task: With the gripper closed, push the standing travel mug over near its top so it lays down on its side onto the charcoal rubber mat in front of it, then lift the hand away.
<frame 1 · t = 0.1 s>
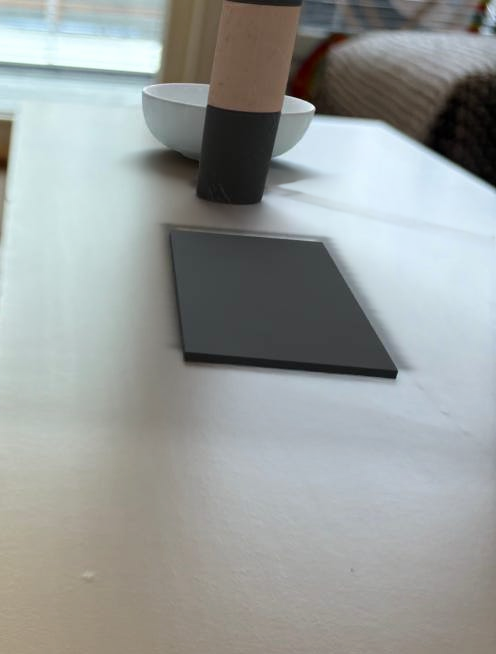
mat: (263, 295, 77), on the table
serving bowl: (218, 159, 122), on the table
travel mug: (228, 198, 105), on the table
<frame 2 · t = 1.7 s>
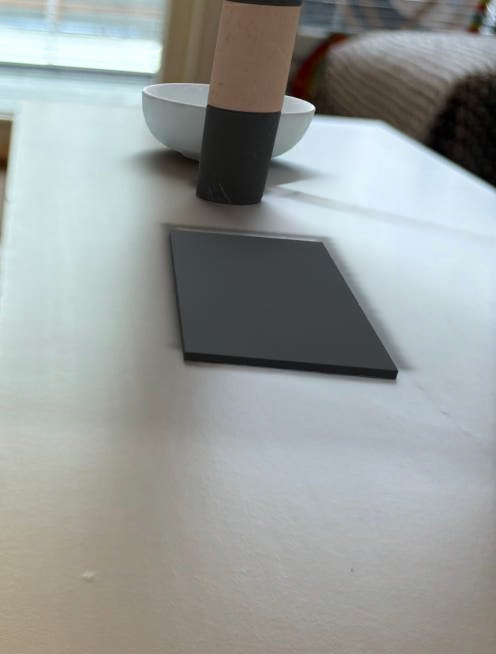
nothing on the table moved.
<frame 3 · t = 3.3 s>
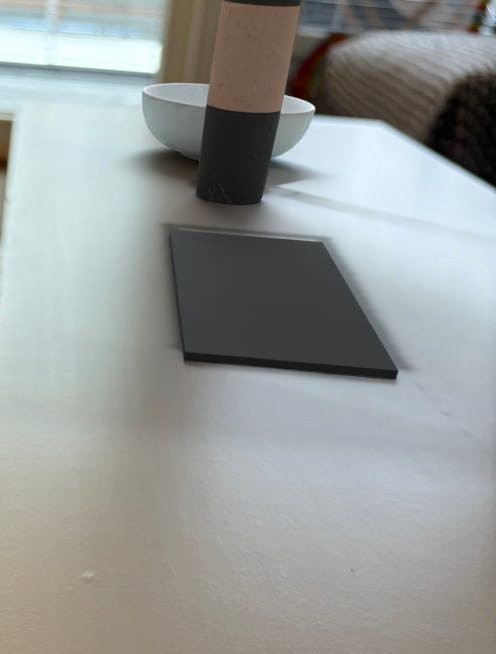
travel mug: (228, 198, 105), on the table, touching gripper
everything else where it was.
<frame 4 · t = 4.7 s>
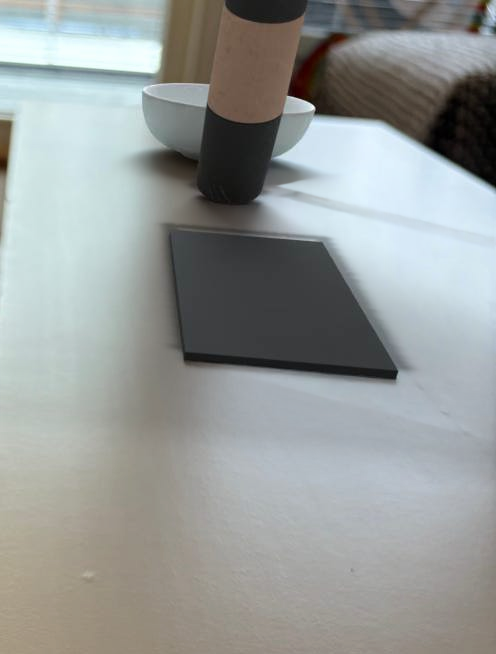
travel mug: (228, 187, 104), point 1 cm above the table, touching gripper
everything else where it was.
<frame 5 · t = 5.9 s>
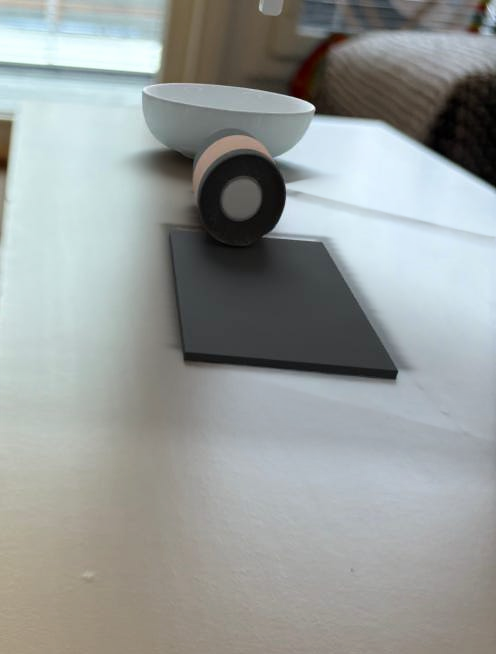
hand: (269, 14, 90), 17 cm above the table, tool pointing down, fingers closed
travel mug: (227, 166, 100), point 4 cm above the table, touching mat
everything else where it was.
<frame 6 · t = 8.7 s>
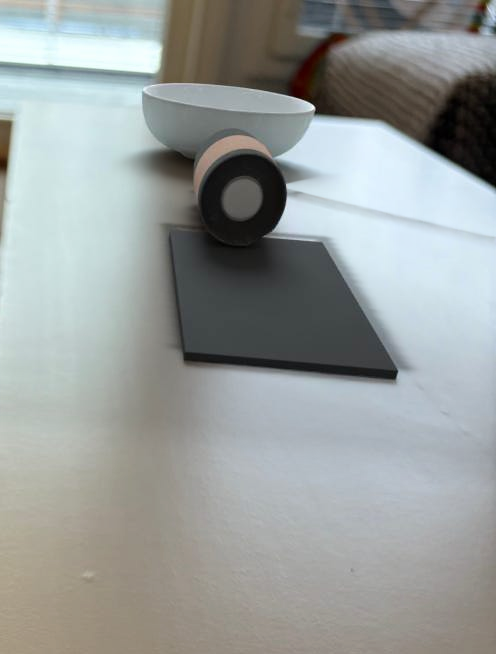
nothing on the table moved.
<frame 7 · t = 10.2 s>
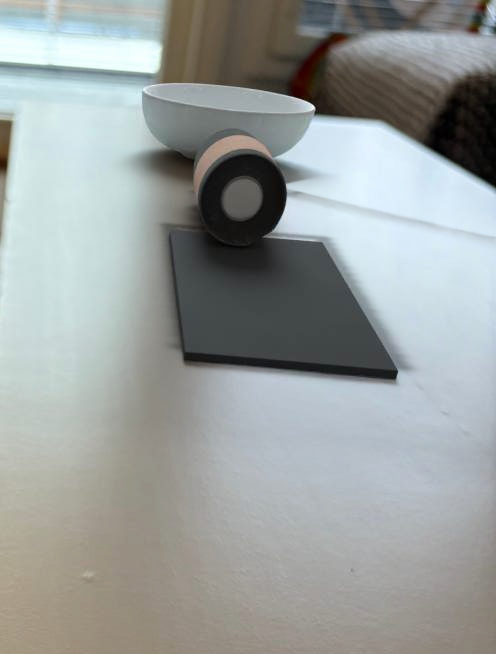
nothing on the table moved.
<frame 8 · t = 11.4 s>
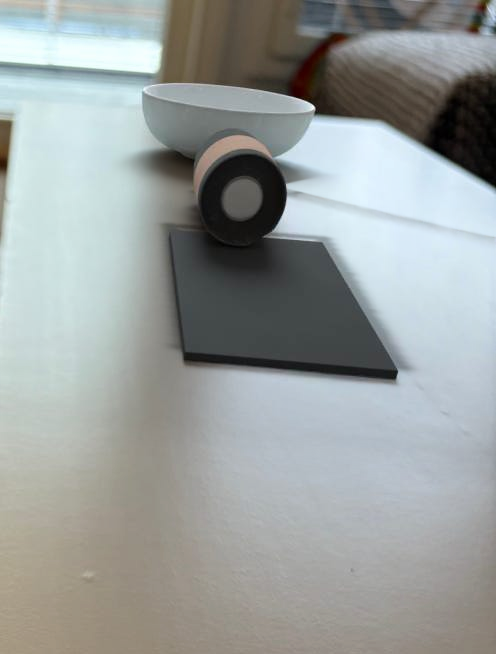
nothing on the table moved.
at the end: travel mug tilted 87°; travel mug touching mat, table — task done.
